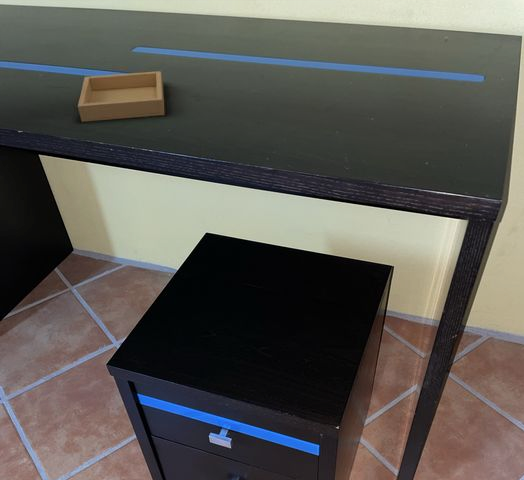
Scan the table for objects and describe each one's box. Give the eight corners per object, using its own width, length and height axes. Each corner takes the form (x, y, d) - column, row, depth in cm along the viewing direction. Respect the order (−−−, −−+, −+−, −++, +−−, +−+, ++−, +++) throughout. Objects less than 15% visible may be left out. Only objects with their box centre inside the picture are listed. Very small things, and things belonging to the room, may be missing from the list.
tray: (82, 123, 80) (77, 106, 78) (88, 93, 88) (84, 76, 86) (164, 116, 81) (162, 99, 79) (163, 87, 89) (160, 71, 87)
